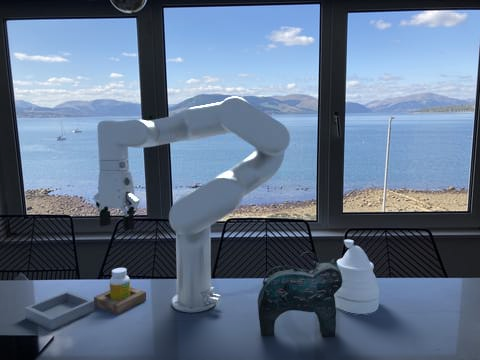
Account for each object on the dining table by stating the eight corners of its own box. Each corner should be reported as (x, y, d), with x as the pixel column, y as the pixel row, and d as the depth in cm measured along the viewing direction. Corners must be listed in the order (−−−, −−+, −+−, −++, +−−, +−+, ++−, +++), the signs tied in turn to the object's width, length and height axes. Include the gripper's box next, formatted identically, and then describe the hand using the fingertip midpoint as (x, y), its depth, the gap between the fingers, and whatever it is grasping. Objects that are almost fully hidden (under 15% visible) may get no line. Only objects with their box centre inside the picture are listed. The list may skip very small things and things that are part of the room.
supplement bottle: (124, 308, 98) (122, 274, 97) (106, 306, 99) (105, 272, 98) (134, 299, 103) (132, 267, 102) (117, 298, 104) (115, 266, 103)
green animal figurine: (337, 326, 88) (339, 248, 86) (345, 341, 82) (347, 256, 79) (257, 326, 88) (257, 248, 86) (258, 341, 82) (258, 257, 79)
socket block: (146, 300, 103) (145, 291, 103) (118, 314, 94) (117, 305, 94) (122, 292, 108) (122, 284, 108) (94, 305, 100) (93, 297, 99)
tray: (94, 311, 96) (94, 300, 96) (51, 331, 86) (51, 319, 86) (68, 300, 103) (67, 290, 102) (25, 318, 93) (24, 307, 92)
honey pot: (327, 309, 97) (329, 245, 95) (333, 291, 109) (335, 233, 107) (378, 318, 92) (380, 250, 90) (378, 297, 104) (381, 237, 102)
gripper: (147, 166, 96) (149, 228, 97) (105, 164, 105) (107, 221, 106) (124, 168, 89) (127, 235, 91) (82, 166, 98) (85, 226, 100)
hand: (116, 227), depth 99 cm, fingers open, 9 cm apart
